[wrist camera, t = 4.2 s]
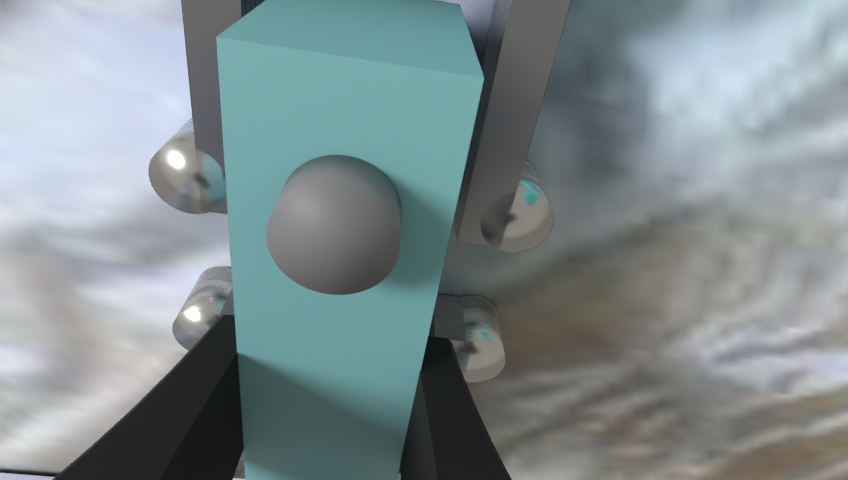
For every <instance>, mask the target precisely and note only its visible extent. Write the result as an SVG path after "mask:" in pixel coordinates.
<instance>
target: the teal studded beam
mask: <svg viewBox="0 0 848 480" xmlns="http://www.w3.org/2000/svg"><path fill="white" fill-rule="evenodd" d="M216 42H217V57H218V72H219V87H220V103H221V118H222V133H223V148H224V163H225V178H226V193H227V209H228V224H229V239H230V254H231V269H232V284H233V299H234V315H235V330H236V345H237V352H238V367H239V382H240V397H241V412H242V427H243V442H244V450H243V451H244V466H245V480H397V477H398V473H399V468H400V461H401V456H402V452H403V447H404V442H405V438H406V433H407V429H408V424H409V419H410V415H411V410H412V406H413V401H414V396H415V392H416V387H417V383H418V378H419V373H420V371H421V367H422V362H423V358H424V353H425V348H426V344H427V339H428V335H429V330H430V325H431V321H432V316H433V312H434V307H435V302H436V298H437V293H438V289H439V284H440V279H441V275H442V270H443V266H444V261H445V256H446V252H447V247H448V243H449V238H450V233H451V229H452V224H453V220H454V215H455V210H456V206H457V201H458V197H459V192H460V187H461V183H462V178H463V174H464V169H465V164H466V160H467V155H468V151H469V146H470V141H471V137H472V132H473V128H474V123H475V118H476V114H477V109H478V105H479V100H480V95H481V91H482V86H483V82H484V76H483V73H482V70H481V67H480V64H479V61H478V58H477V55H476V52H475V49H474V46H473V43H472V40H471V37H470V34H469V31H468V28H467V25H466V22H465V19H464V16H463V13H462V10H461V7H460V4H455V3H449V2H443V1H437V0H265V1H264V2H263V3H261V4H260V5H259V6H257V7H256V8H255V9H253V10H252V11H251V12H249V13H248V14H246V15H245V16H244V17H242V18H241V19H240V20H238V21H237V22H236V23H234V24H233V25H232V26H230V27H229V28H228V29H226V30H225V31H224V32H222V33H221V34H220V35H218V36H217V37H216Z"/></svg>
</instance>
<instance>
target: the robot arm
mask: <svg viewBox="0 0 848 480" xmlns="http://www.w3.org/2000/svg"><path fill="white" fill-rule="evenodd" d="M243 450H244V442H243V427H242V412H241V397H240V382H239V367H238V352H237V345H236V330H235V315H226V314H224V315H223V316H221V317H220V318H218V319H217V320H216V322H215V323H214V324H213V325H212V326H211V327H210V329H209V330H208V331H207V332H206V333H205V334H204V335H203V336H202V338H201V339H200V340H199V341H198V342H197V343H196V344H195V345H194V346H193V347H192V349H191V350H190V351H189V352H188V353H187V354H186V355H185V356H184V357H183V358H182V359H181V360H180V361H179V362H178V363H177V365H176V366H175V367H174V368H173V369H172V370H171V371H170V372H169V373H168V374H167V375H166V376H165V377H164V378H163V379H162V380H161V381H160V382H159V383H158V384H157V385H156V386H155V387H154V388H153V389H152V390H151V391H150V392H149V393H148V394H147V395H146V396H145V397H144V398H143V399H142V400H141V401H140V402H139V403H138V404H137V405H136V406H135V407H134V408H133V409H132V410H131V411H129V412H128V413H127V414H126V415H125V416H124V417H123V418H122V419H121V420H120V421H118V422H117V423H116V424H115V425H114V426H113V427H112V428H111V429H110V430H109V431H108V432H106V433H105V434H104V435H103V436H102V437H101V438H100V439H99V440H98V441H97V442H96V443H94V444H93V445H92V446H91V447H90V448H89V449H88V450H87V451H85V452H84V453H83V454H82V455H81V456H80V457H78V458H77V459H76V460H75V461H74V462H73V463H71V464H70V465H69V466H68V467H67V468H65V469H64V470H63V471H62V472H61V473H59V474H58V475H57V476H56V477H51V476H38V475H25V474H13V473H0V480H232V479H233V477H234V474H235V471H236V469H237V466H238V463H239V460H240V458H241V455H242V452H243ZM400 469H401V480H512V479H511V478H510V476H509V474H508V472H507V470H506V468H505V466H504V464H503V463H502V461H501V459H500V457H499V455H498V453H497V451H496V449H495V447H494V445H493V443H492V441H491V438H490V436H489V434H488V432H487V430H486V428H485V426H484V423H483V421H482V419H481V417H480V415H479V413H478V410H477V408H476V406H475V404H474V401H473V399H472V396H471V394H470V392H469V389H468V387H467V384H466V382H465V379H464V376H463V374H462V371H461V368H460V365H459V363H458V360H457V357H456V354H455V350H454V347H453V344H452V342H451V341H450V340H449V339H448V338H441V337H432V336H428V339H427V344H426V348H425V353H424V358H423V362H422V367H421V371H420V373H419V378H418V383H417V387H416V392H415V396H414V401H413V406H412V410H411V415H410V419H409V424H408V429H407V433H406V438H405V442H404V447H403V452H402V456H401V461H400Z"/></svg>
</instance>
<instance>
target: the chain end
mask: <svg viewBox="0 0 848 480" xmlns="http://www.w3.org/2000/svg"><path fill="white" fill-rule="evenodd" d="M224 314H226V315H234V299H233V284H232V269H231V268H230V267H222V266H221V267H213V268H210V269H207V270H206V271H204V272H203V273H202V274H201V275H200V277H199V279H198V281H197V282H196V284H195V286H194V288H193V289H192V291H191V293H190V295H189V297H188V298H187V300H186V302H185V304H184V305H183V307H182V309H181V311H180V312H179V314H178V316H177V318H176V319H175V321H174V323H173V334H174V336H175V338H176V340H177V341H178V342H179V343H180V344H181V345H182V346H183V347H184V348H186V349H187V350H189V351H190V350H191V349H192V347H193V346H194V345H195V344H196V343H197V342H198V341H199V340H200V339H201V338H202V336H203V335H204V334H205V333H206V332H207V331H208V330H209V329H210V327H211V326H212V325H213V324H214V323H215V322H216V320H217V319H218V318H220V317H221V316H223V315H224ZM428 336H432V337H441V338H448V339H449V340H450V341H451V342H452V344H453V347H454V350H455V354H456V357H457V360H458V363H459V365H460V368H461V371H462V374H463V376H464V379H465V382H471V383H476V382H483V381H487V380H490V379H492V378H494V377H495V376H497V375H498V374H499V373H500V372H501V371H502V370H503V368H504V366H505V363H506V358H505V352H504V347H503V341H502V336H501V330H500V325H499V319H498V314H497V310H496V307H495V306H494V304H493V303H492V302H491V301H489V300H488V299H486V298H484V297H481V296H476V295H468V296H462V297H460V296H452V295H443V294H437V298H436V302H435V307H434V312H433V316H432V321H431V325H430V330H429V335H428ZM233 478H242V479H245V466H244V451H243V452H242V455H241V458H240V460H239V463H238V466H237V469H236V471H235V474H234V477H233ZM397 480H401V469H400V468H399V473H398V477H397Z"/></svg>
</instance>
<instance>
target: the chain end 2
mask: <svg viewBox="0 0 848 480" xmlns="http://www.w3.org/2000/svg"><path fill="white" fill-rule="evenodd" d="M264 1H265V0H181V3H182V13H183V24H184V34H185V45H186V55H187V65H188V76H189V86H190V97H191V107H192V118H191V119H190V120H189V121H188V122H187V123H186V124H185V125H184V126H183V127H182V128H181V129H180V130H179V131H178V132H177V133H176V134H175V135H174V136H173V137H172V138H171V139H170V140H169V141H168V142H167V143H166V144H165V145H164V146H163V147H162V148H161V149H160V150H159V151H158V152H157V153H156V154H155V155H154V156H153V158H152V159H151V161H150V164H149V178H150V182H151V185H152V186H153V188H154V190H155V191H156V193H157V194H158V195H159V197H160V198H161V199H162V200H164V201H165V202H166V203H167V204H169V205H170V206H172V207H174V208H176V209H178V210H180V211H183V212H186V213H192V214H204V213H208V212H215V213H223V214H228V209H227V193H226V178H225V163H224V148H223V133H222V118H221V103H220V87H219V72H218V57H217V42H216V37H217V36H218V35H220V34H221V33H222V32H224V31H225V30H226V29H228V28H229V27H230V26H232V25H233V24H234V23H236V22H237V21H238V20H240V19H241V18H242V17H244V16H245V15H246V14H248V13H249V12H251V11H252V10H253V9H255V8H256V7H257V6H259V5H260V4H261V3H263V2H264ZM570 2H571V0H496V1H495V6H494V10H493V15H492V20H491V24H490V29H489V34H488V39H487V43H486V48H485V53H484V58H483V62H482V67H481V70H482V73H483V76H484V82H483V86H482V91H481V95H480V100H479V105H478V109H477V114H476V118H475V123H474V128H473V132H472V137H471V141H470V146H469V151H468V155H467V160H466V164H465V169H464V174H463V178H462V183H461V187H460V192H459V197H458V201H457V206H456V210H455V215H454V218H455V227H456V237H457V243H465V244H473V245H481V246H489V247H493V248H495V249H497V250H500V251H503V252H508V253H518V252H524V251H527V250H530V249H532V248H534V247H536V246H537V245H539V244H540V243H541V242H543V241H544V240H545V239H546V237H547V236H548V235H549V233H550V231H551V229H552V225H553V212H552V209H551V207H550V204H549V202H548V199H547V197H546V194H545V192H544V190H543V187H542V185H541V182H540V180H539V178H538V175H537V173H536V170H535V169H534V167H533V166H532V164H531V163H529V162H528V161H527V160H526V156H527V153H528V149H529V146H530V142H531V139H532V135H533V132H534V128H535V125H536V121H537V118H538V114H539V111H540V107H541V104H542V100H543V97H544V93H545V90H546V86H547V83H548V79H549V76H550V72H551V69H552V65H553V62H554V58H555V55H556V51H557V47H558V44H559V40H560V37H561V33H562V30H563V26H564V23H565V19H566V16H567V12H568V9H569V5H570Z"/></svg>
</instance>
